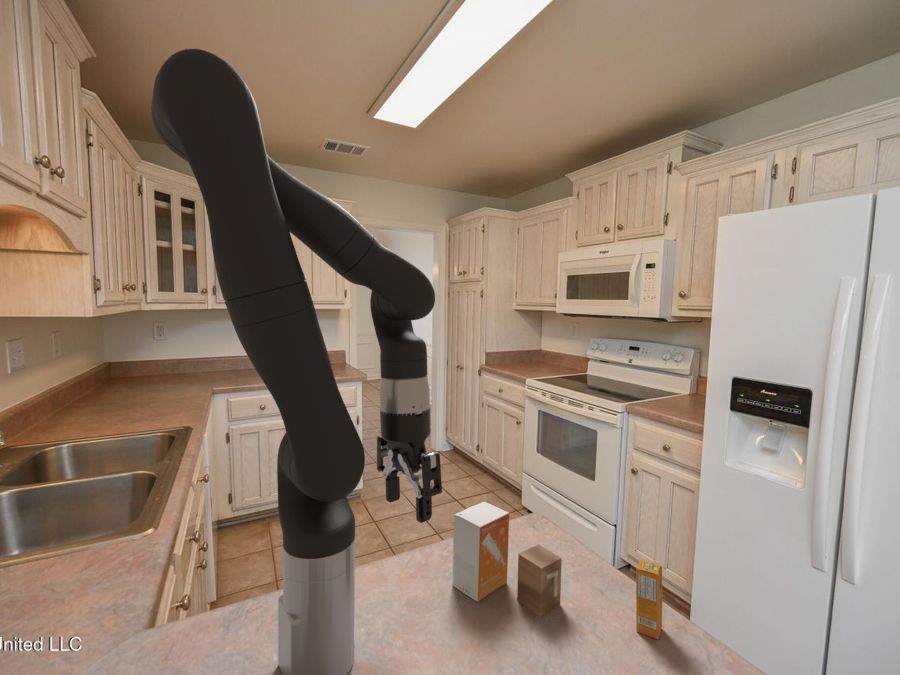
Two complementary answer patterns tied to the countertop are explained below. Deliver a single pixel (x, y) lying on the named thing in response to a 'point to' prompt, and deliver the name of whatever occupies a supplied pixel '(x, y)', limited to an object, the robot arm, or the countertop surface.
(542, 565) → the walnut digit block
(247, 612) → the countertop surface
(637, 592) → the supplement box
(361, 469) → the robot arm
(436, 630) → the countertop surface
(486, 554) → the small box
